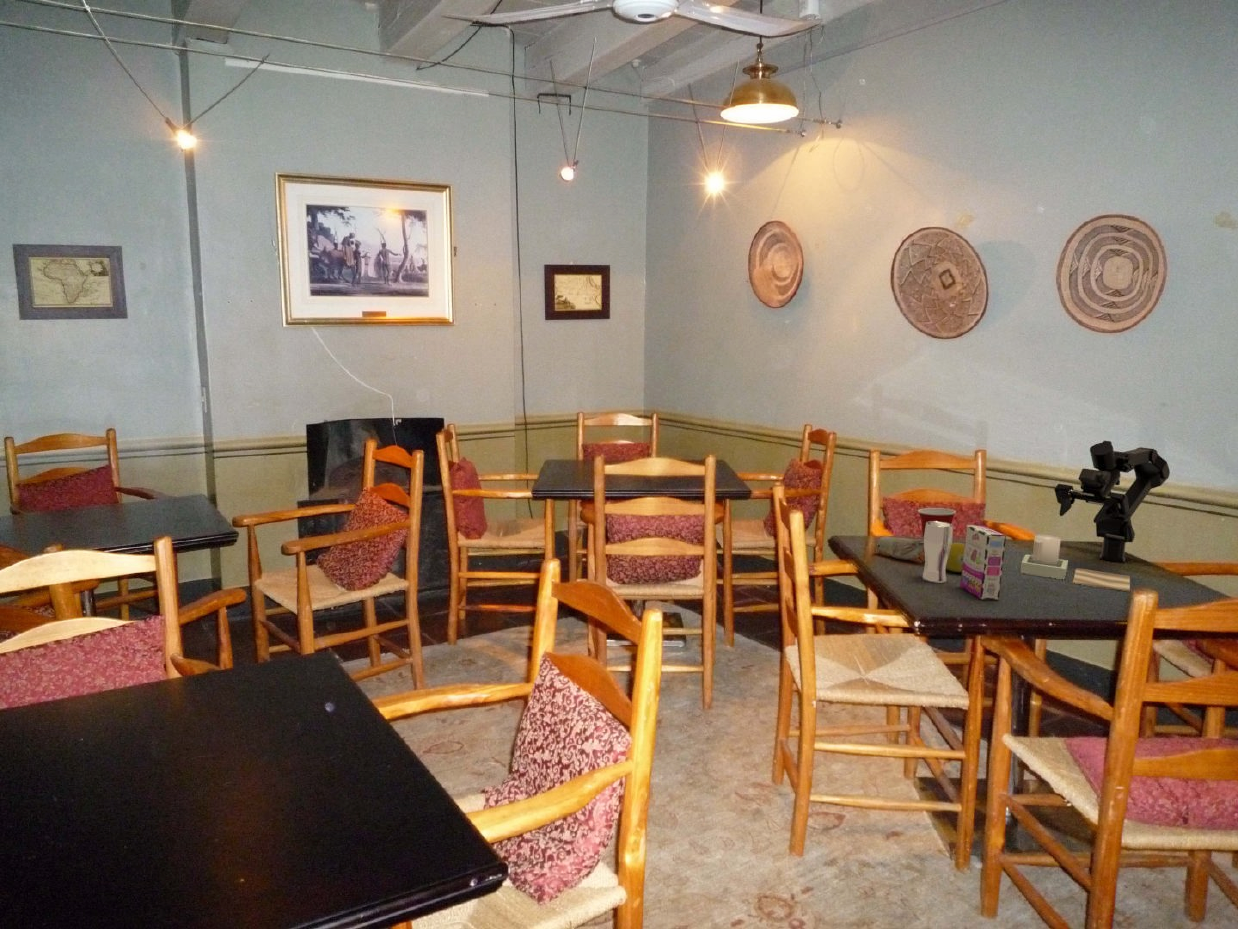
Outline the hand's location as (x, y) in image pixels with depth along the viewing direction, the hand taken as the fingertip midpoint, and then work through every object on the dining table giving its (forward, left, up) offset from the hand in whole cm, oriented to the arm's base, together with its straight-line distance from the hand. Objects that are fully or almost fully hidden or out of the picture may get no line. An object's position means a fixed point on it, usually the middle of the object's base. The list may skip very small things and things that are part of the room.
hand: (1077, 518), depth 238 cm
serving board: (+6, +8, -15) cm, 18 cm away
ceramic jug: (+6, -6, -15) cm, 17 cm away
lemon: (+21, -26, -15) cm, 37 cm away
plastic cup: (-3, -37, -15) cm, 40 cm away
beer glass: (+33, -30, -15) cm, 47 cm away
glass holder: (+6, -6, -15) cm, 17 cm away
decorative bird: (+17, -42, -16) cm, 48 cm away
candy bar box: (+39, -18, -15) cm, 46 cm away
